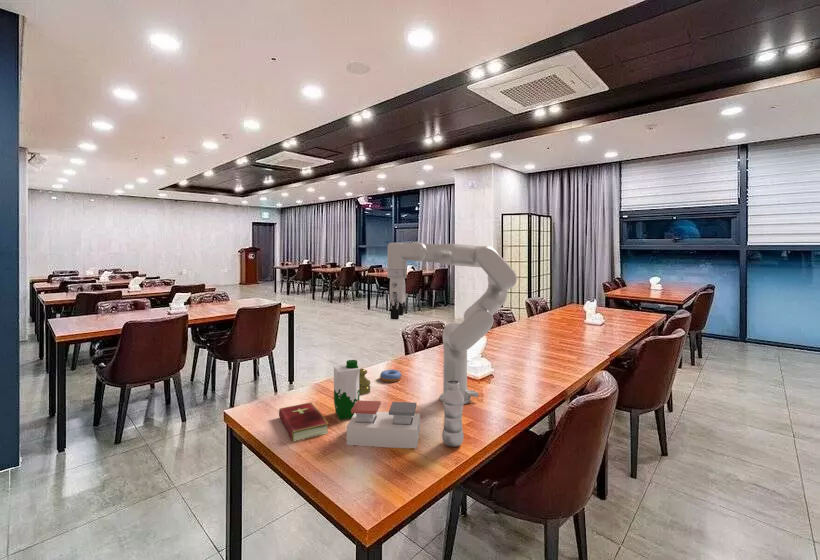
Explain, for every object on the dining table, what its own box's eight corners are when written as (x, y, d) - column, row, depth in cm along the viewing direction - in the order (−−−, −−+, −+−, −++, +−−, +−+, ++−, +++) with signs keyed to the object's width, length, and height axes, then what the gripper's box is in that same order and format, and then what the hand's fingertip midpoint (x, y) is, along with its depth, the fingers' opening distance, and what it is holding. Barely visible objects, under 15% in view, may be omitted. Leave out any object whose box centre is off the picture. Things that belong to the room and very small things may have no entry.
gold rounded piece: (367, 395, 162) (367, 372, 162) (350, 394, 164) (350, 371, 163) (372, 389, 170) (372, 366, 169) (356, 388, 171) (356, 366, 170)
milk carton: (362, 417, 141) (361, 363, 139) (337, 421, 137) (336, 366, 136) (355, 408, 149) (355, 357, 147) (332, 412, 145) (331, 360, 144)
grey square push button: (416, 421, 128) (416, 402, 127) (414, 433, 120) (414, 412, 120) (392, 420, 129) (392, 401, 128) (388, 431, 121) (388, 411, 120)
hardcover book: (292, 444, 122) (291, 431, 122) (279, 419, 141) (278, 407, 140) (329, 435, 128) (328, 422, 128) (311, 412, 147) (311, 401, 146)
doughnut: (405, 380, 181) (404, 370, 181) (387, 385, 176) (386, 375, 176) (395, 376, 189) (394, 367, 189) (377, 381, 184) (376, 371, 184)
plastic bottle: (440, 439, 124) (440, 378, 122) (461, 438, 124) (461, 378, 123) (443, 450, 118) (444, 385, 116) (465, 449, 118) (466, 385, 117)
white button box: (420, 430, 130) (419, 413, 130) (416, 448, 118) (416, 429, 118) (356, 427, 132) (355, 410, 132) (346, 445, 121) (346, 426, 120)
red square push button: (380, 420, 129) (380, 401, 129) (376, 431, 121) (376, 411, 121) (357, 419, 130) (357, 400, 130) (351, 429, 122) (351, 410, 122)
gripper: (402, 275, 143) (402, 321, 144) (409, 273, 160) (409, 314, 161) (382, 275, 144) (383, 320, 145) (392, 272, 161) (392, 313, 162)
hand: (397, 317), depth 153 cm, fingers open, 9 cm apart
